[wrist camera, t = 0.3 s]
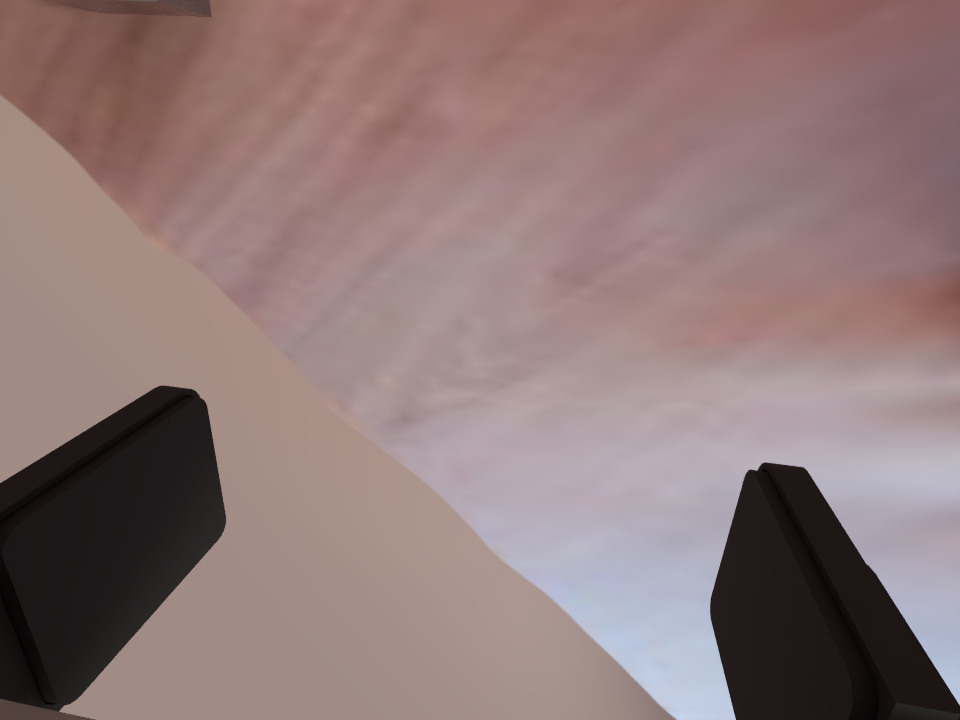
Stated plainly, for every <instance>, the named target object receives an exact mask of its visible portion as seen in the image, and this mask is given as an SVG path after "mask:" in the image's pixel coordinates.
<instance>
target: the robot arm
mask: <svg viewBox="0 0 960 720" xmlns="http://www.w3.org/2000/svg"><path fill="white" fill-rule="evenodd" d="M225 524H226V515H225V510H224V503H223V497H222V492H221V485H220V479H219V474H218V467H217V462H216V456H215V450H214V444H213V438H212V432H211V426H210V420H209V415H208V409H207V405H206V403H205V401H204V400H203V399H201V398H200V396H199V395H198V394H197V392H196V391H194V390H192V389H186V388H178V387H170V386H159V387H156V388H154V389H153V390H151V391H150V392H148V393H146V394H145V395H143V396H141V397H140V398H138V399H136V400H135V401H133V402H132V403H130V404H128V405H127V406H125V407H124V408H122V409H120V410H119V411H117V412H116V413H114V414H112V415H111V416H109V417H107V418H106V419H104V420H102V421H101V422H99V423H97V424H96V425H94V426H93V427H91V428H89V429H88V430H86V431H85V432H83V433H81V434H80V435H78V436H76V437H75V438H73V439H72V440H70V441H68V442H67V443H65V444H64V445H62V446H60V447H59V448H57V449H55V450H54V451H52V452H50V453H49V454H47V455H46V456H44V457H43V458H41V459H39V460H37V461H36V462H34V463H33V464H31V465H29V466H28V467H26V468H25V469H23V470H22V471H20V472H18V473H16V474H15V475H13V476H11V477H10V478H8V479H7V480H5V481H3V482H2V483H0V720H94V719H90V718H85V717H80V716H76V715H71V714H66V713H62V712H59V711H60V710H61V708H62V707H63V706H64V705H68V704H70V703H72V702H74V701H75V700H76V699H78V698H79V697H80V696H81V695H82V693H83V692H84V691H85V690H86V689H87V688H88V687H89V686H90V684H91V683H92V682H93V681H94V680H95V679H96V678H97V677H98V675H99V674H100V673H101V672H102V671H103V670H104V668H105V667H106V666H107V665H108V664H109V663H110V662H111V661H112V660H113V658H114V657H115V656H116V655H117V654H118V653H119V651H120V650H121V649H122V648H123V647H124V646H125V645H126V643H128V641H129V640H130V639H131V638H132V637H133V636H134V635H135V633H136V632H137V631H138V630H139V629H140V628H141V627H142V625H143V624H144V623H145V622H146V621H147V620H148V619H149V618H150V616H151V615H152V614H153V613H154V612H155V611H156V610H157V609H158V607H159V606H160V605H161V604H162V603H163V602H164V601H165V599H166V598H167V597H168V596H169V595H170V594H171V592H173V590H174V589H175V588H176V587H177V586H178V585H179V584H180V583H181V581H182V580H183V579H184V578H185V577H186V576H187V575H188V573H189V572H190V571H191V570H192V569H193V568H194V567H195V565H196V564H197V563H198V562H199V561H200V560H201V559H202V558H203V556H204V555H205V554H206V553H207V552H208V551H209V550H210V549H211V547H212V546H213V545H214V544H215V543H216V542H217V540H218V539H219V538H220V537H221V535H222V533H223V531H224V528H225ZM710 614H711V621H712V625H713V629H714V633H715V637H716V641H717V645H718V649H719V653H720V657H721V662H722V666H723V670H724V674H725V678H726V682H727V686H728V690H729V694H730V698H731V702H732V706H733V710H734V714H735V718H736V720H960V705H959V704H958V702H957V701H956V699H955V698H954V696H953V694H952V693H951V691H950V690H949V688H948V687H947V685H946V683H945V682H944V680H943V679H942V677H941V676H940V674H939V672H938V671H937V669H936V668H935V666H934V665H933V663H932V662H931V660H930V658H929V657H928V655H927V654H926V652H925V651H924V649H923V647H922V646H921V644H920V643H919V641H918V640H917V638H916V636H915V635H914V633H913V632H912V630H911V629H910V627H909V626H908V624H907V622H906V621H905V619H904V618H903V616H902V615H901V613H900V611H899V610H898V608H897V607H896V605H895V604H894V602H893V600H892V599H891V597H890V596H889V594H888V593H887V591H886V590H885V588H884V586H883V585H882V583H881V582H880V580H879V579H878V577H877V575H876V574H875V573H874V572H873V570H872V569H871V568H870V567H869V566H868V565H866V563H865V561H864V560H863V558H862V557H861V555H860V554H859V552H858V550H857V549H856V547H855V546H854V544H853V542H852V541H851V539H850V538H849V536H848V535H847V533H846V531H845V530H844V528H843V527H842V525H841V523H840V522H839V520H838V519H837V517H836V516H835V514H834V512H833V511H832V509H831V508H830V506H829V504H828V503H827V501H826V500H825V498H824V497H823V495H822V493H821V492H820V490H819V489H818V487H817V485H816V484H815V482H814V481H813V479H812V478H811V476H810V474H809V473H808V471H807V470H806V469H805V468H802V467H797V466H789V465H781V464H773V463H765V462H764V463H763V464H761V466H760V467H759V469H758V471H756V470H749V471H748V472H747V473H746V475H745V478H744V481H743V485H742V488H741V492H740V496H739V499H738V503H737V506H736V510H735V514H734V517H733V521H732V524H731V528H730V531H729V535H728V539H727V542H726V546H725V549H724V553H723V557H722V560H721V564H720V567H719V571H718V574H717V578H716V582H715V585H714V589H713V592H712V596H711V603H710Z"/></svg>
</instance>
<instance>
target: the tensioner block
mask: <svg viewBox="0 0 960 720" xmlns="http://www.w3.org/2000/svg"><path fill="white" fill-rule="evenodd" d="M48 1H52V2H56V3H61V4H65V5H70V6H74V7H78V8H83V9H87V10H91V11H96V12H100V13H122V14H148V15H175V16H202V17H211V14H210V5H209V0H48Z"/></svg>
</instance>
